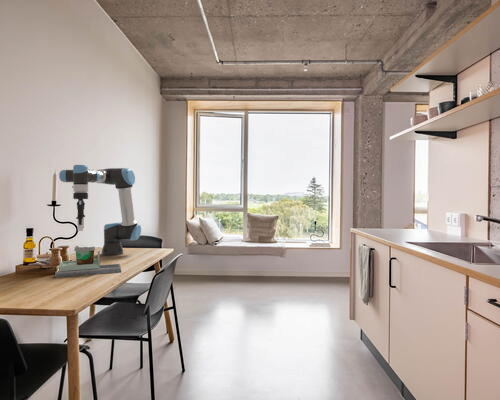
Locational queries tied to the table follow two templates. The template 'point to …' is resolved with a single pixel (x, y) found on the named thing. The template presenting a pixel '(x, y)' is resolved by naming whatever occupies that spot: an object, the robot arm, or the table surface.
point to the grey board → (90, 271)
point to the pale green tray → (73, 265)
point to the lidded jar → (43, 257)
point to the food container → (84, 255)
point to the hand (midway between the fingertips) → (80, 229)
